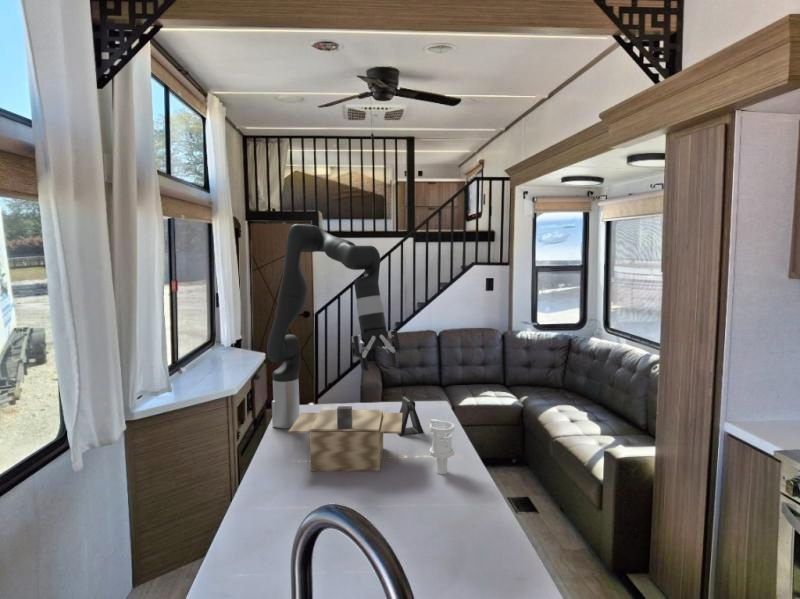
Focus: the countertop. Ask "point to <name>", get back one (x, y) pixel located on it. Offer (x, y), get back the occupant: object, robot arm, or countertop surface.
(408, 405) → the phone stand
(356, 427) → the lid flap
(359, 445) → the carton
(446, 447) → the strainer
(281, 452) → the countertop surface
